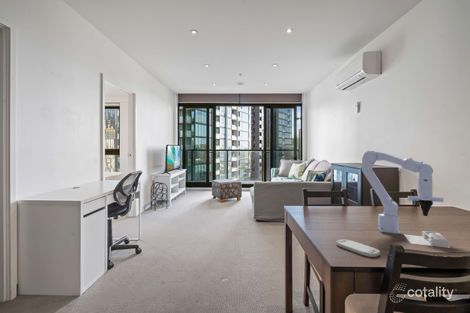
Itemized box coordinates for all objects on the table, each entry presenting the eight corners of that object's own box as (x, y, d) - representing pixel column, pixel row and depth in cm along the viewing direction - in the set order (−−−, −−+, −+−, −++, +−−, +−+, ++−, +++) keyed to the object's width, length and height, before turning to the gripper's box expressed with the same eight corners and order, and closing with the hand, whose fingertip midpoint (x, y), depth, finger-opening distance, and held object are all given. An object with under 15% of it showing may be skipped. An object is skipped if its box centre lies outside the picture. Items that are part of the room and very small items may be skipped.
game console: (383, 249, 110) (371, 253, 106) (383, 255, 111) (371, 259, 106) (345, 237, 126) (333, 240, 122) (345, 242, 126) (333, 245, 122)
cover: (431, 239, 121) (431, 238, 121) (425, 233, 130) (425, 232, 130) (446, 240, 119) (446, 238, 119) (439, 234, 128) (439, 232, 128)
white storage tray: (410, 244, 123) (411, 237, 123) (403, 235, 136) (403, 229, 136) (450, 248, 118) (451, 241, 118) (439, 238, 131) (439, 232, 131)
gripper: (410, 188, 133) (410, 216, 133) (446, 189, 128) (445, 218, 128) (406, 187, 140) (406, 213, 140) (440, 188, 135) (440, 215, 135)
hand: (425, 215), depth 135 cm, fingers closed
